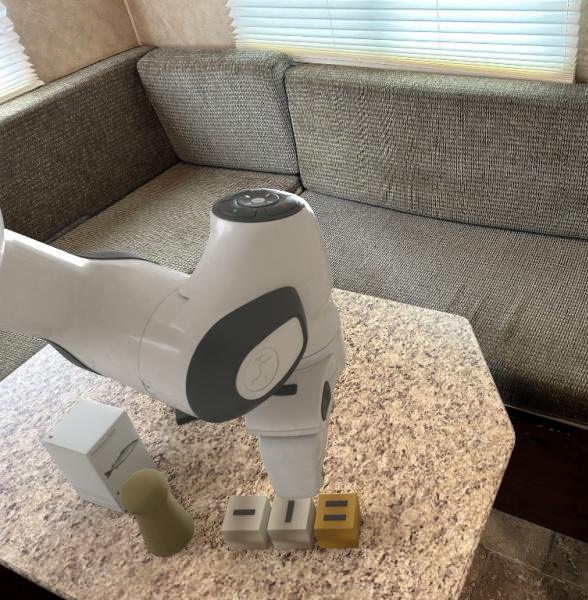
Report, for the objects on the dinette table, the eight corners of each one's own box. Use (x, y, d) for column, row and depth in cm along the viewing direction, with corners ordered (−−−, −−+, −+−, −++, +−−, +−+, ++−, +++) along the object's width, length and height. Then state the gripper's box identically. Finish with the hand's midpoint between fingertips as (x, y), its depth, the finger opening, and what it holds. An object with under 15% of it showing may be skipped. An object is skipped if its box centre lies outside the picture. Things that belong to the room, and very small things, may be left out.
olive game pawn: (155, 512, 78) (124, 460, 71) (201, 511, 78) (174, 459, 71) (138, 557, 73) (103, 507, 66) (187, 556, 73) (156, 506, 66)
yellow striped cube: (361, 513, 76) (356, 492, 73) (358, 548, 72) (353, 527, 69) (324, 514, 76) (318, 493, 73) (320, 548, 72) (313, 528, 70)
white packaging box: (124, 515, 78) (84, 456, 70) (80, 499, 80) (36, 440, 72) (160, 469, 83) (126, 408, 75) (118, 455, 86) (81, 395, 78)
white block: (317, 514, 76) (311, 493, 73) (312, 549, 72) (305, 528, 70) (281, 514, 76) (274, 494, 73) (274, 549, 73) (266, 529, 70)
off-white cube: (274, 515, 76) (266, 494, 74) (267, 549, 73) (258, 529, 70) (239, 515, 77) (229, 495, 74) (230, 550, 73) (220, 530, 70)
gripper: (283, 282, 64) (306, 373, 73) (238, 440, 48) (275, 532, 57) (342, 279, 64) (358, 371, 72) (317, 438, 48) (341, 530, 57)
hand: (321, 443), depth 64 cm, fingers open, 8 cm apart
